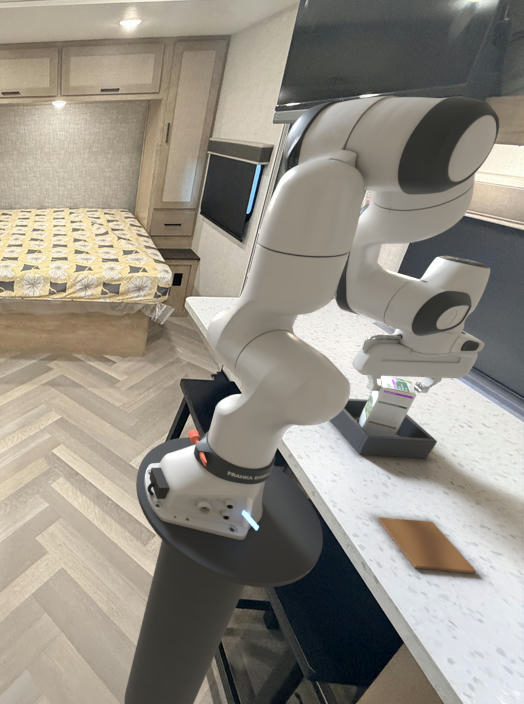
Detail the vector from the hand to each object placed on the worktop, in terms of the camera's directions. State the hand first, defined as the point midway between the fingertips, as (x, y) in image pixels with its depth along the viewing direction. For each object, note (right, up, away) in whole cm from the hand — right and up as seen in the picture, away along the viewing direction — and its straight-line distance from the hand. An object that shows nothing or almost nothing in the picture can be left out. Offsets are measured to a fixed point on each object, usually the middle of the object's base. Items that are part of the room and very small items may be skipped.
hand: (395, 390), depth 86 cm
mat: (-12, -24, -18) cm, 32 cm away
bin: (0, -11, +6) cm, 13 cm away
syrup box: (0, -11, +6) cm, 13 cm away
